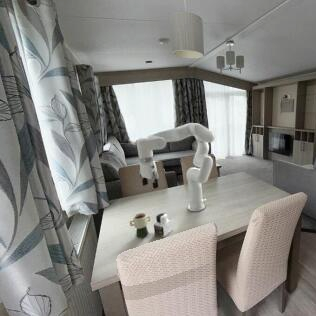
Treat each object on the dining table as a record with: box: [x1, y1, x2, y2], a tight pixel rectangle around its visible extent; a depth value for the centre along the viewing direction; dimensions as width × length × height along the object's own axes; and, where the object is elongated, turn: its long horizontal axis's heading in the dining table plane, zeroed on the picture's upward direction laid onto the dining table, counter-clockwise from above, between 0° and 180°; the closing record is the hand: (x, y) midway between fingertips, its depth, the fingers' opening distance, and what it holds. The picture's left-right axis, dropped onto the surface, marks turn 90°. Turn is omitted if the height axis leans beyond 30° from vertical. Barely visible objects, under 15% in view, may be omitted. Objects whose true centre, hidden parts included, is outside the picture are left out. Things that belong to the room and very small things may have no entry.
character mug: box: [129, 212, 151, 239], centre depth 117 cm, size 11×7×13 cm, turn 122°
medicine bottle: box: [153, 212, 173, 238], centre depth 119 cm, size 7×7×12 cm
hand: (150, 186), depth 120 cm, fingers open, 9 cm apart
